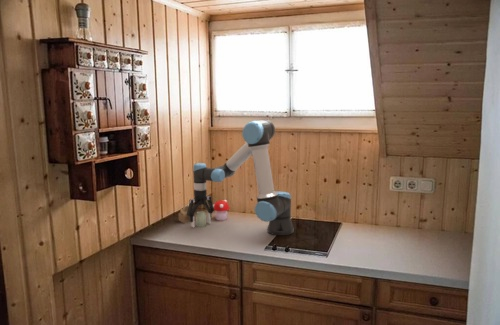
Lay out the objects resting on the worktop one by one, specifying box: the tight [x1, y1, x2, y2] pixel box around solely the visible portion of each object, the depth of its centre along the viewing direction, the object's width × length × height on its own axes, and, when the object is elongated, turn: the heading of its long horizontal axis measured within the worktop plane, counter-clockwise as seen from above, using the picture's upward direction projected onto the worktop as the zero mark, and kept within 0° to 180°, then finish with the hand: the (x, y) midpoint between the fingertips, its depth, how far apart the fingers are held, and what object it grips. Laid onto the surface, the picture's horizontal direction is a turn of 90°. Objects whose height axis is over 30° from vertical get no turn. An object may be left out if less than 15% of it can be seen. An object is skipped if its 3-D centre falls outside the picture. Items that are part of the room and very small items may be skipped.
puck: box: [196, 210, 207, 228], centre depth 258 cm, size 5×5×8 cm
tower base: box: [178, 212, 196, 224], centre depth 268 cm, size 8×8×5 cm
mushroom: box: [213, 199, 230, 221], centre depth 271 cm, size 11×11×12 cm
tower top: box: [180, 204, 189, 215], centre depth 267 cm, size 5×5×5 cm
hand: (201, 225), depth 259 cm, fingers open, 10 cm apart
